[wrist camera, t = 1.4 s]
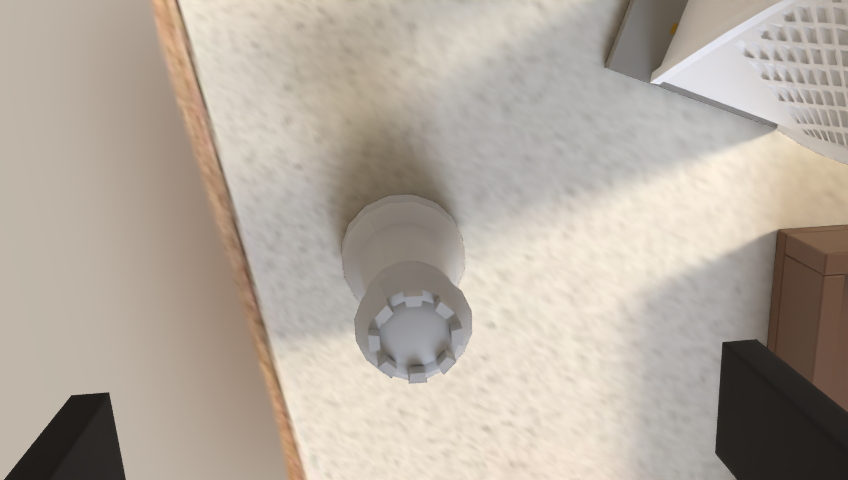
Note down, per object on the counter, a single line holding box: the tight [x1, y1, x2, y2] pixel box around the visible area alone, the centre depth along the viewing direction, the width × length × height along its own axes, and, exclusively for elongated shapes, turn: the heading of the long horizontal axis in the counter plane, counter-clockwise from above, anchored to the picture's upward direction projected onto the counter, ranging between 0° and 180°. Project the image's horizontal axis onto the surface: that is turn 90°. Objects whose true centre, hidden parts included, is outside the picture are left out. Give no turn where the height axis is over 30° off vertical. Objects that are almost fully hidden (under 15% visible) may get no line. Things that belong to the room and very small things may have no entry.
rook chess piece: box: [341, 194, 472, 384], centre depth 23 cm, size 4×4×8 cm
